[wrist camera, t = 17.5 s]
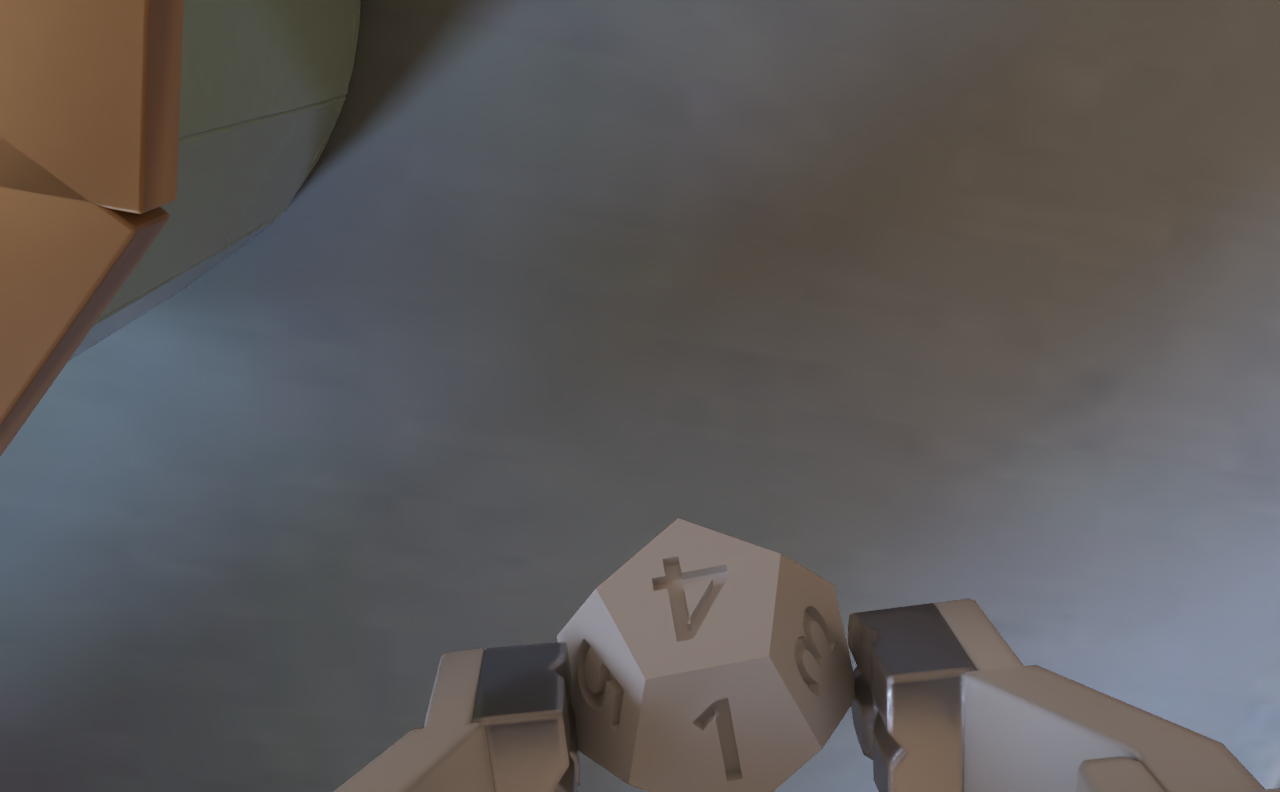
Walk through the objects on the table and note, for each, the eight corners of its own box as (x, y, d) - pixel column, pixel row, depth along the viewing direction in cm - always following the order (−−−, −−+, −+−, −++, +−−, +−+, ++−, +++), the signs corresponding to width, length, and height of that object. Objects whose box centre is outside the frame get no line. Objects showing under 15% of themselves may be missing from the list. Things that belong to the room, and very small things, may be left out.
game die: (593, 740, 15) (594, 901, 12) (539, 506, 14) (527, 622, 11) (835, 696, 15) (895, 845, 12) (801, 457, 14) (859, 560, 11)
